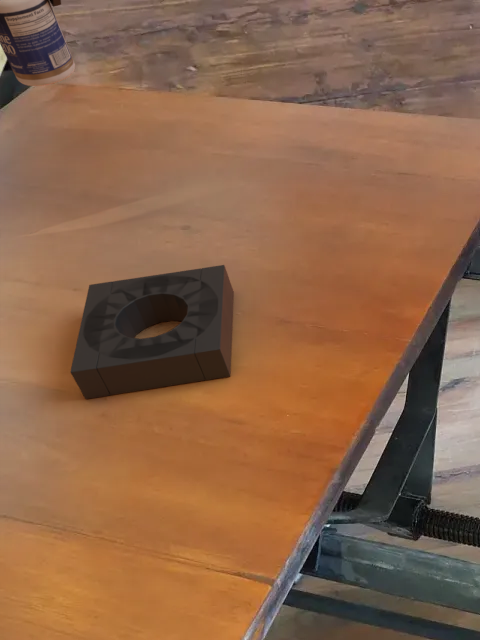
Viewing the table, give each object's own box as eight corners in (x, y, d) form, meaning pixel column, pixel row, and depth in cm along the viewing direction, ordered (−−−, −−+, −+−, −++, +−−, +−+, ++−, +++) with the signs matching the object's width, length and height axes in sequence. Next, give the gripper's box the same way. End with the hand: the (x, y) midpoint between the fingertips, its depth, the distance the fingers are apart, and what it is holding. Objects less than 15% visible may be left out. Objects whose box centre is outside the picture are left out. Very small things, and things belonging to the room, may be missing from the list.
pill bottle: (13, 71, 84) (-40, -44, 77) (71, 57, 85) (24, -57, 78) (22, 93, 81) (-33, -24, 73) (81, 78, 82) (34, -39, 75)
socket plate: (85, 399, 74) (70, 372, 71) (102, 311, 81) (89, 284, 79) (230, 376, 74) (220, 349, 72) (233, 291, 82) (224, 264, 80)
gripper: (-192, -201, 69) (-71, 10, 71) (-5, -235, 74) (101, -37, 76) (-163, -133, 76) (-53, 56, 78) (6, -169, 81) (103, 10, 83)
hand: (22, 9), depth 77 cm, fingers closed on pill bottle, 5 cm apart
